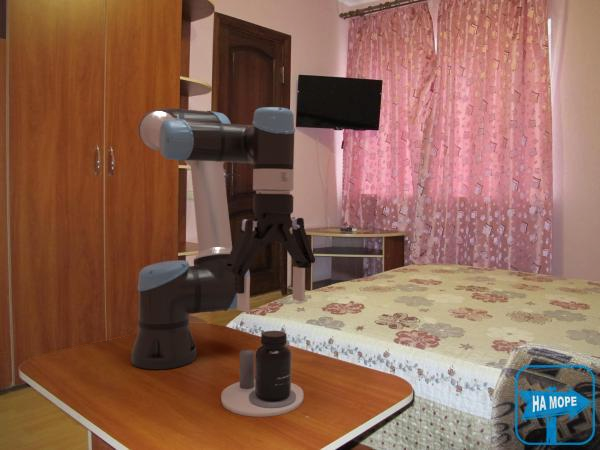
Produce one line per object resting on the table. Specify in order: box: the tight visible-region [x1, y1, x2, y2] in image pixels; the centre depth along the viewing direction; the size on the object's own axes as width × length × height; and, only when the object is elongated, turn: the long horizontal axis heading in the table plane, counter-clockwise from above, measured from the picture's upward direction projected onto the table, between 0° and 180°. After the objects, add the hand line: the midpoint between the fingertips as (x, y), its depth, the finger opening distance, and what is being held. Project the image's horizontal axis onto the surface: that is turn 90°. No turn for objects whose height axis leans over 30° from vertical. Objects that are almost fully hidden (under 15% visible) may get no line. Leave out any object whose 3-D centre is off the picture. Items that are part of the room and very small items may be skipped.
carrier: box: [220, 349, 304, 418], centre depth 97 cm, size 16×16×8 cm
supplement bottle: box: [255, 330, 292, 402], centre depth 94 cm, size 7×7×12 cm
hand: (272, 305), depth 94 cm, fingers open, 13 cm apart
